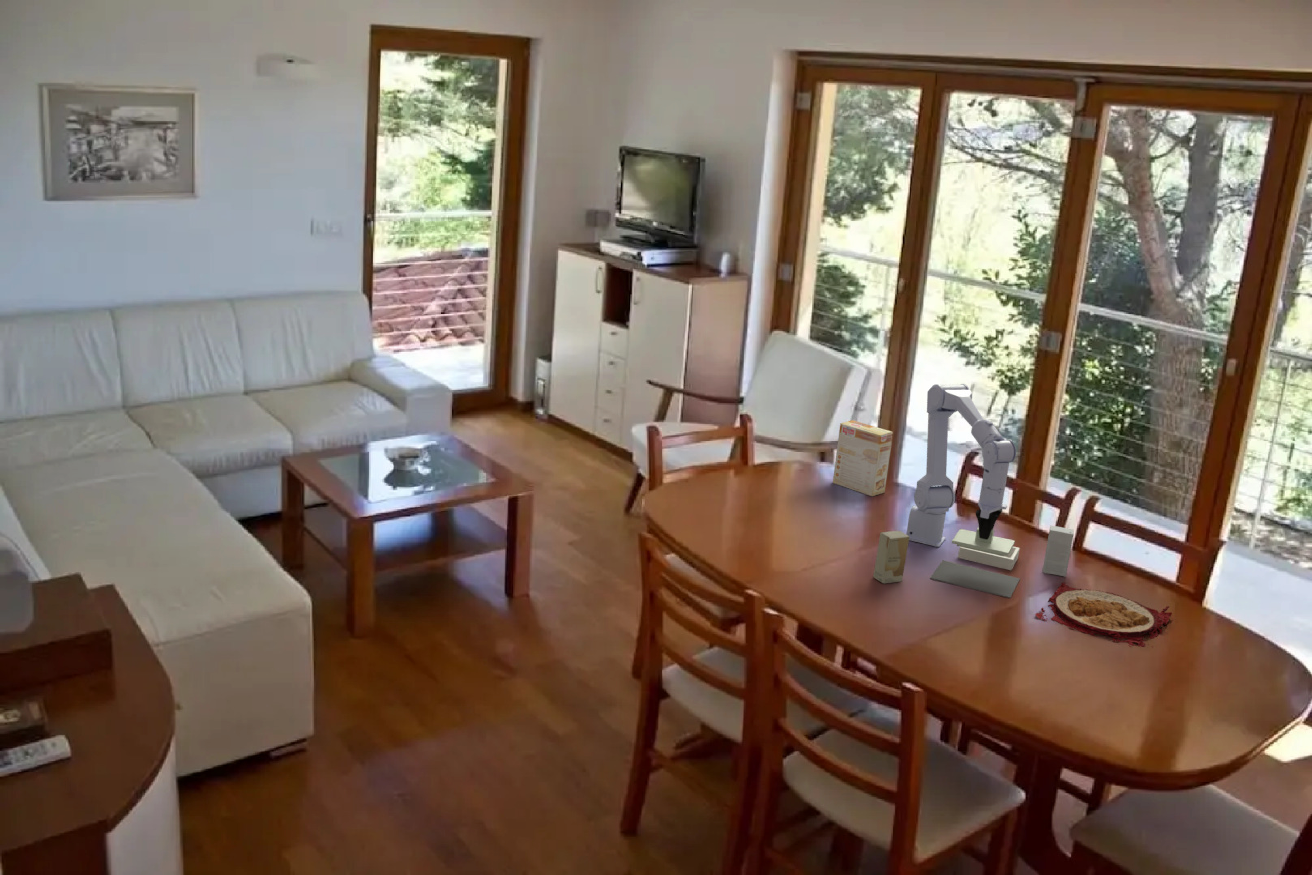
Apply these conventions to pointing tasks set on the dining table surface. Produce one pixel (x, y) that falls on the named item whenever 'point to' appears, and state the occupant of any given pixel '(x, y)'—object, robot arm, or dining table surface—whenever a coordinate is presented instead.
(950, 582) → the mat
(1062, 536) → the skincare box
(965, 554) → the parts tray
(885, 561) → the skincare box
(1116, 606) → the plate with food
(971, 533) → the lid
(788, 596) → the dining table surface
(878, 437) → the coffeecake box
